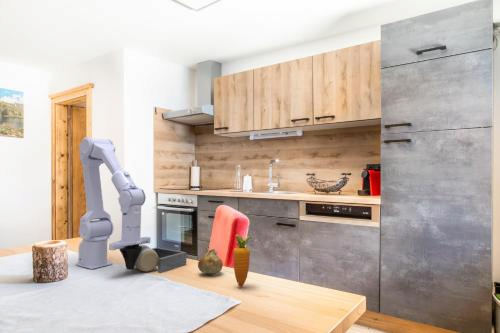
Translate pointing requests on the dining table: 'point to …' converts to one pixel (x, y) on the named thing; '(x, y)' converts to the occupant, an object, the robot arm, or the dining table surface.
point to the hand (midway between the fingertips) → (130, 269)
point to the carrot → (241, 260)
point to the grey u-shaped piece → (169, 259)
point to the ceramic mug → (146, 259)
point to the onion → (210, 263)
